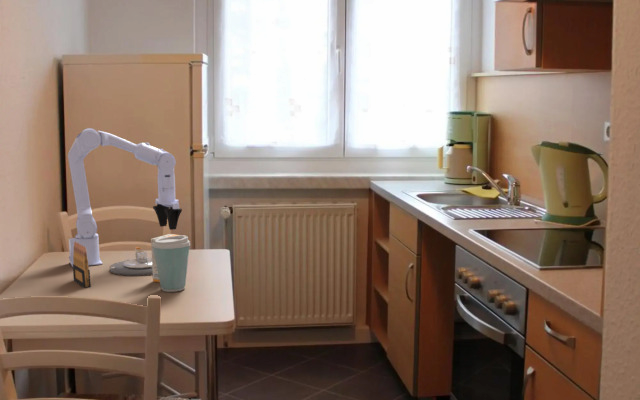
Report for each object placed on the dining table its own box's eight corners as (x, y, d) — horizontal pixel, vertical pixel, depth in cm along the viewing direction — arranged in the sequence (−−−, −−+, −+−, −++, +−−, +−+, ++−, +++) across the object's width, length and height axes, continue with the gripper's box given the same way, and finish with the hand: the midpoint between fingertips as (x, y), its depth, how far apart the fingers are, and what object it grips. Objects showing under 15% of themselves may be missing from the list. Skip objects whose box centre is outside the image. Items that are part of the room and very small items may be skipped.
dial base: (115, 278, 232) (115, 274, 231) (106, 265, 250) (106, 261, 250) (181, 271, 239) (181, 267, 239) (167, 259, 258) (167, 255, 257)
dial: (165, 266, 241) (165, 254, 241) (126, 270, 237) (126, 257, 236) (156, 257, 254) (155, 245, 254) (119, 261, 250) (118, 249, 249)
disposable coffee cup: (155, 295, 212) (153, 242, 210) (152, 286, 222) (150, 235, 220) (194, 292, 215) (192, 239, 213) (189, 283, 225) (187, 232, 223)
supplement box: (170, 275, 235) (169, 233, 233) (182, 277, 232) (181, 234, 230) (151, 281, 228) (150, 238, 226) (164, 283, 225) (162, 239, 223)
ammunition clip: (73, 280, 230) (71, 241, 228) (79, 279, 231) (77, 240, 229) (84, 288, 221) (82, 247, 219) (90, 287, 222) (88, 246, 220)
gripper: (187, 189, 254) (188, 229, 256) (168, 184, 266) (169, 223, 268) (167, 190, 250) (168, 231, 252) (149, 186, 262) (150, 225, 264)
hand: (168, 227), depth 260 cm, fingers open, 7 cm apart
